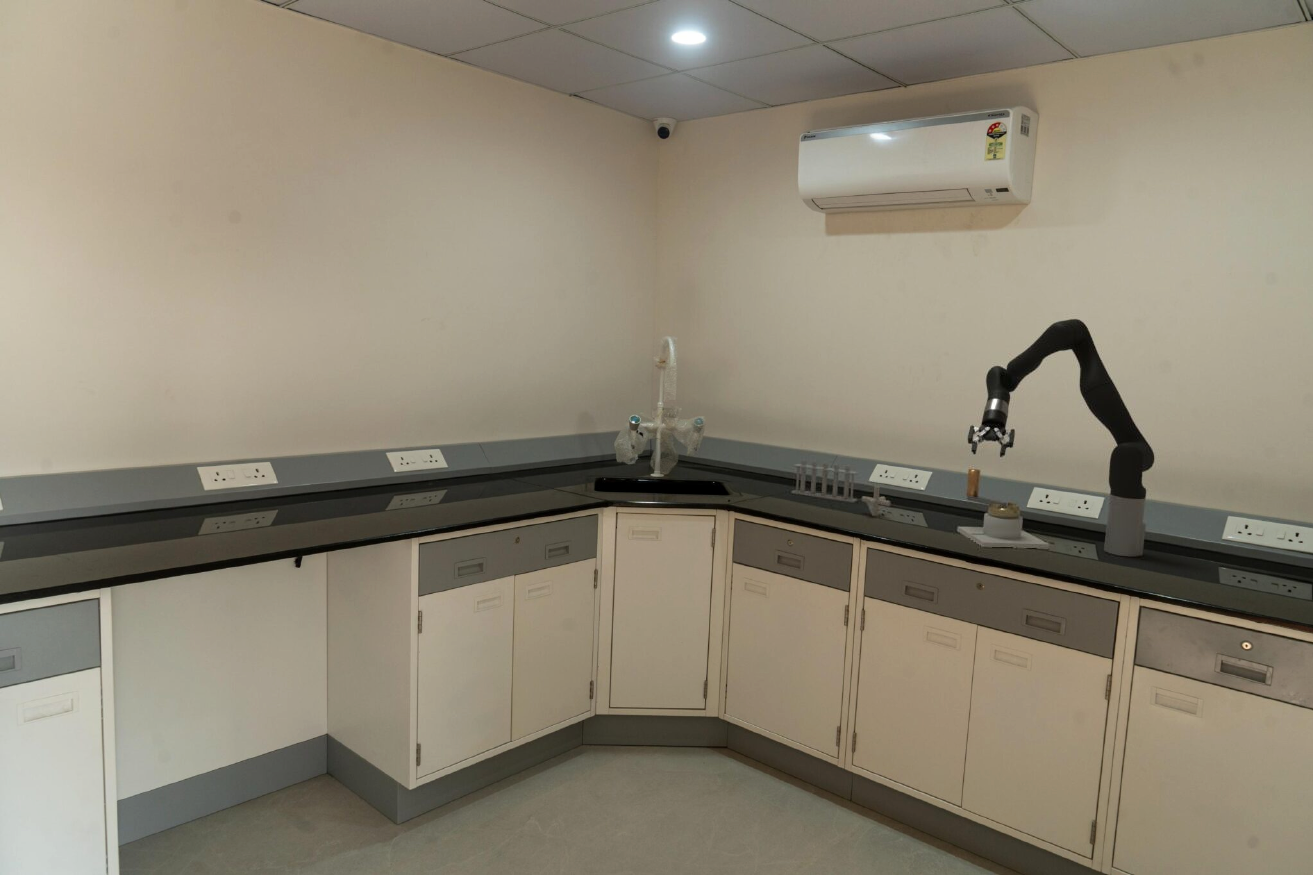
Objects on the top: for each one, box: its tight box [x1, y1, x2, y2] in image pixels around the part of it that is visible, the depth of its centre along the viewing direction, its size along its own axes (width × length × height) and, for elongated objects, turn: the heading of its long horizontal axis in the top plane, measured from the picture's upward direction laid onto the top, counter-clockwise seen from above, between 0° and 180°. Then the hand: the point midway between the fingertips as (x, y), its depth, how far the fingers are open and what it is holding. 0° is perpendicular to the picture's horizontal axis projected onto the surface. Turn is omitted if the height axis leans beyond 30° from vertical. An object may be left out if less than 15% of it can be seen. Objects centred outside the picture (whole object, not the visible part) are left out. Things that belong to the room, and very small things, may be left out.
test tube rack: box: [790, 459, 860, 504], centre depth 321 cm, size 25×4×13 cm, turn 55°
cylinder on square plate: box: [956, 512, 1050, 550], centre depth 263 cm, size 20×20×8 cm
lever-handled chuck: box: [966, 468, 1021, 519], centre depth 266 cm, size 18×9×12 cm, turn 32°
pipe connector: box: [861, 485, 891, 517], centre depth 292 cm, size 10×10×10 cm
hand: (987, 454), depth 274 cm, fingers open, 7 cm apart
